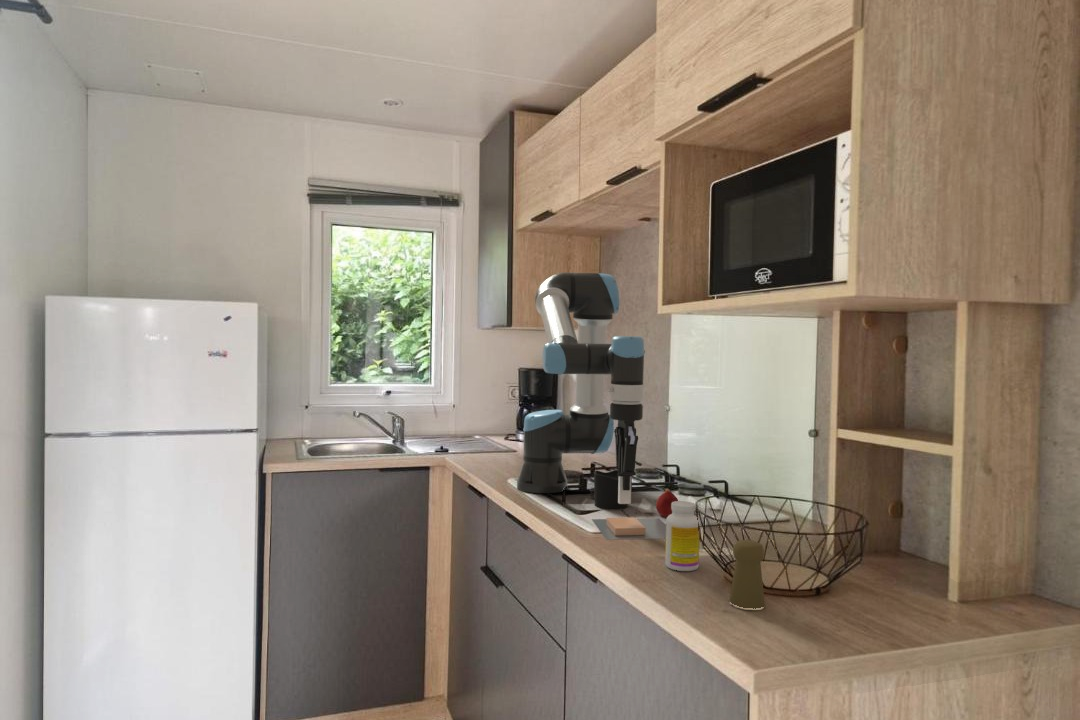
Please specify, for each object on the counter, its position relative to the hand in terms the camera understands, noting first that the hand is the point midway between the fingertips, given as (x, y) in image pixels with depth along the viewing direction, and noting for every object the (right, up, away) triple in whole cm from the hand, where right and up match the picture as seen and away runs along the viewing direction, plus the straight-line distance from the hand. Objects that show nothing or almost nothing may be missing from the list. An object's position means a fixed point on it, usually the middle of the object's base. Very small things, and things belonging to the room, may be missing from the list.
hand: (624, 503), depth 163 cm
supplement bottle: (+9, -8, -23) cm, 26 cm away
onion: (+12, -7, +13) cm, 19 cm away
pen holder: (-1, -7, +22) cm, 23 cm away
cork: (+16, -9, -42) cm, 46 cm away
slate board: (+2, -7, +1) cm, 8 cm away
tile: (-1, -5, +3) cm, 6 cm away
